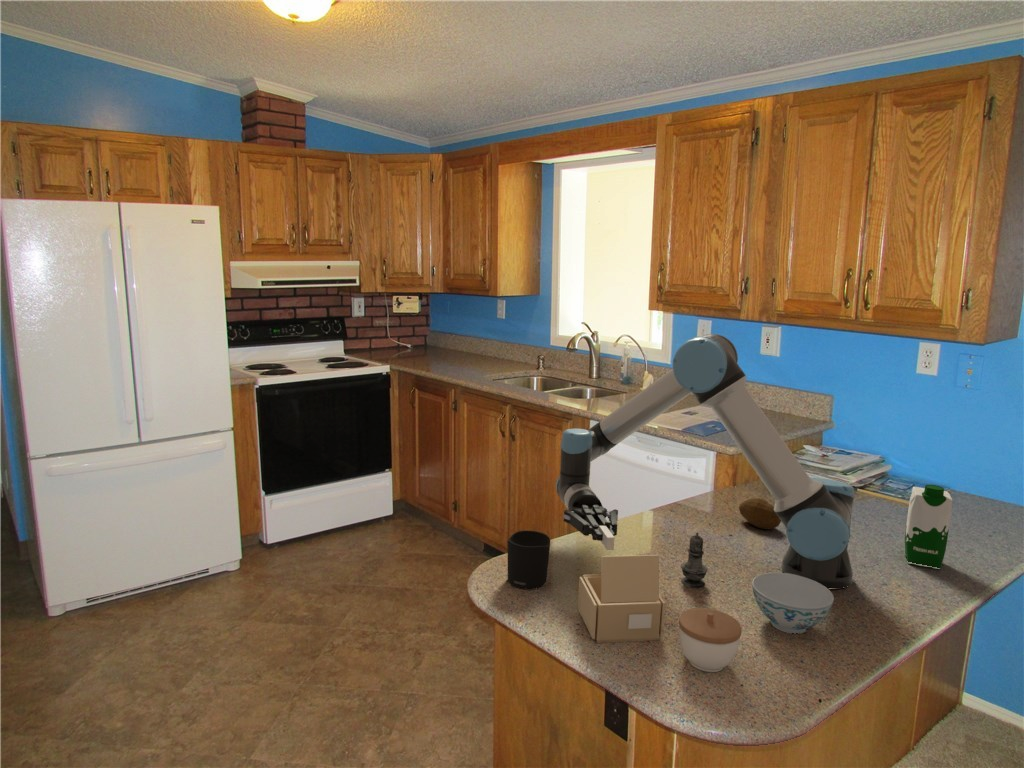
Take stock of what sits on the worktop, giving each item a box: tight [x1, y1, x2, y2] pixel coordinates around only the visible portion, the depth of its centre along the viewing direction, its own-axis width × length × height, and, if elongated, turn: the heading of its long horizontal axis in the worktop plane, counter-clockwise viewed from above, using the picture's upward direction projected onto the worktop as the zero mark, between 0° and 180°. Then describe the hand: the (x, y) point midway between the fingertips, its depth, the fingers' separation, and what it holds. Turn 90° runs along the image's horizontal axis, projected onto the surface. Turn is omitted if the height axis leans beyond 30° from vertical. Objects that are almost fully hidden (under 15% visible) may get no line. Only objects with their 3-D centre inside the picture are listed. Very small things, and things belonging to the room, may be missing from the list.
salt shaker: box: [680, 531, 709, 589], centre depth 152 cm, size 6×6×12 cm
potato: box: [738, 497, 782, 530], centre depth 190 cm, size 8×12×8 cm, turn 45°
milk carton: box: [904, 484, 954, 569], centre depth 168 cm, size 9×9×20 cm
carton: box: [577, 573, 666, 644], centre depth 133 cm, size 14×13×8 cm
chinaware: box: [751, 572, 835, 635], centre depth 135 cm, size 15×15×8 cm
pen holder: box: [507, 530, 551, 590], centre depth 150 cm, size 9×9×10 cm
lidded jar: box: [678, 607, 742, 673], centre depth 121 cm, size 11×11×9 cm
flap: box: [600, 554, 660, 603], centre depth 127 cm, size 11×1×8 cm, turn 98°
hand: (610, 543), depth 139 cm, fingers closed
